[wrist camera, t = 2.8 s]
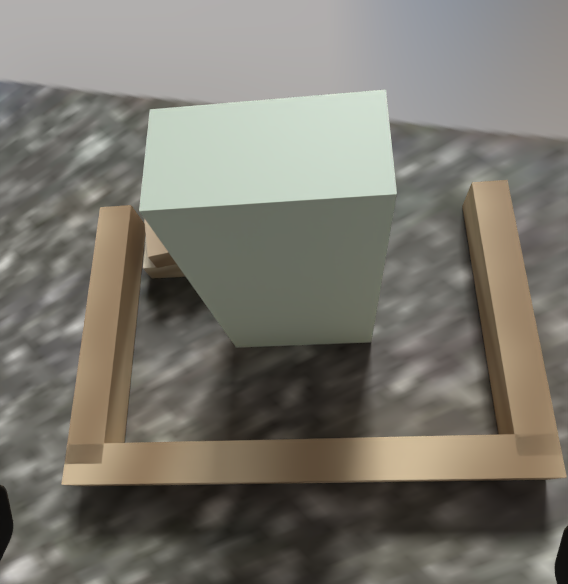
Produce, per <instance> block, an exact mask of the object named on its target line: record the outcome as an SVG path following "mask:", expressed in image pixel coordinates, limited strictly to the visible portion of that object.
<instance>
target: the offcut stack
mask: <svg viewBox="0 0 568 584" xmlns="http://www.w3.org/2000/svg"><path fill="white" fill-rule="evenodd" d="M144 222H145V232H146V242H145V252H144V262H143V269H144V270H145V271H146V272H147V273H148V275H149V276H150V277H151V278H169V277H186V276H185V275H184V273H183V272H182V271H181V269H180V268H179V266H178V265H177V264H176V262H175V261H174V259H173V258H172V257H171V255H170V254H169V252H168V251H167V249H166V248H165V247H164V245H163V244H162V242H161V241H160V240H159V238H158V237H157V235H156V234H155V233H154V231H153V230H152V228H151V227H150V226H149V224H148V223H147V221H146V220H145V219H144Z"/></svg>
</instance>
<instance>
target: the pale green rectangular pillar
mask: <svg viewBox="0 0 568 584" xmlns="http://www.w3.org/2000/svg"><path fill="white" fill-rule="evenodd" d="M396 195H397V192H396V182H395V173H394V163H393V154H392V144H391V135H390V125H389V116H388V106H387V97H386V90H375V91H365V92H352V93H340V94H328V95H316V96H305V97H293V98H281V99H269V100H257V101H247V102H234V103H222V104H210V105H198V106H187V107H175V108H163V109H151V110H150V114H149V123H148V133H147V142H146V152H145V161H144V171H143V180H142V189H141V199H140V208H139V211H140V213H141V214H142V216H143V217H144V219H145V220H146V221H147V223H148V224H149V226H150V227H151V228H152V230H153V231H154V233H155V234H156V235H157V237H158V238H159V240H160V241H161V242H162V244H163V245H164V247H165V248H166V249H167V251H168V252H169V254H170V255H171V257H172V258H173V259H174V261H175V262H176V264H177V265H178V266H179V268H180V269H181V271H182V272H183V273H184V275H185V276H186V278H187V279H188V280H189V282H190V283H191V285H192V286H193V288H194V289H195V290H196V292H197V293H198V295H199V296H200V297H201V299H202V300H203V302H204V303H205V304H206V306H207V307H208V309H209V310H210V311H211V313H212V314H213V316H214V317H215V319H216V320H217V321H218V323H219V324H220V326H221V327H222V328H223V330H224V331H225V333H226V334H227V335H228V337H229V338H230V340H231V341H232V342H233V344H234V345H235V347H236V348H239V347H264V346H290V345H315V344H340V343H366V342H371V341H372V335H373V329H374V323H375V318H376V312H377V306H378V300H379V294H380V289H381V283H382V277H383V271H384V265H385V259H386V254H387V248H388V242H389V236H390V230H391V225H392V219H393V213H394V207H395V201H396Z"/></svg>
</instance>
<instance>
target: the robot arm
mask: <svg viewBox="0 0 568 584" xmlns="http://www.w3.org/2000/svg"><path fill="white" fill-rule="evenodd" d="M12 533H13V519H12V514H11V509H10V504H9V499H8V494H7V490H6V489H5V487H4V486H2V485H0V561H1V559H2V556H3V554H4V552H5V550H6V548H7V546H8V544H9V541H10V539H11V536H12ZM555 577H556V581H557V584H568V526H567V527H566V528H565V529H564V532H563V535H562V539H561V543H560V546H559V550H558V554H557V557H556V561H555Z"/></svg>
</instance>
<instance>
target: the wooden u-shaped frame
mask: <svg viewBox="0 0 568 584" xmlns="http://www.w3.org/2000/svg"><path fill="white" fill-rule="evenodd" d="M463 213H464V219H465V225H466V232H467V238H468V244H469V250H470V257H471V263H472V269H473V276H474V282H475V288H476V295H477V301H478V307H479V314H480V320H481V326H482V333H483V339H484V345H485V352H486V358H487V364H488V371H489V377H490V383H491V389H492V396H493V402H494V408H495V415H496V421H497V427H498V434H499V435H460V436H415V437H370V438H326V439H281V440H236V441H191V442H147V443H124V442H125V432H126V422H127V412H128V402H129V392H130V382H131V372H132V361H133V351H134V341H135V331H136V321H137V311H138V301H139V291H140V281H141V271H142V261H143V251H144V241H145V224H144V223H143V221H142V220H141V218H140V217H139V216H138V214H137V213H136V211H135V210H134V209H133V207H132V206H131V205H127V206H113V207H100V212H99V220H98V227H97V234H96V241H95V248H94V256H93V263H92V270H91V277H90V284H89V292H88V299H87V306H86V313H85V320H84V328H83V335H82V342H81V349H80V356H79V364H78V371H77V378H76V385H75V392H74V400H73V407H72V414H71V421H70V428H69V436H68V443H67V450H66V457H65V464H64V472H63V479H62V485H73V486H135V485H205V484H274V483H344V482H414V481H484V480H547V479H557V478H566V472H565V467H564V462H563V457H562V452H561V447H560V442H559V437H558V432H557V427H556V422H555V417H554V412H553V407H552V402H551V397H550V392H549V387H548V382H547V377H546V372H545V367H544V362H543V357H542V352H541V346H540V341H539V336H538V331H537V326H536V321H535V316H534V311H533V306H532V301H531V296H530V291H529V286H528V281H527V276H526V271H525V266H524V261H523V256H522V251H521V246H520V241H519V236H518V231H517V226H516V221H515V216H514V211H513V206H512V201H511V196H510V191H509V186H508V181H507V180H500V181H485V182H472V184H471V186H470V189H469V191H468V194H467V196H466V199H465V201H464V204H463Z"/></svg>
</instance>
